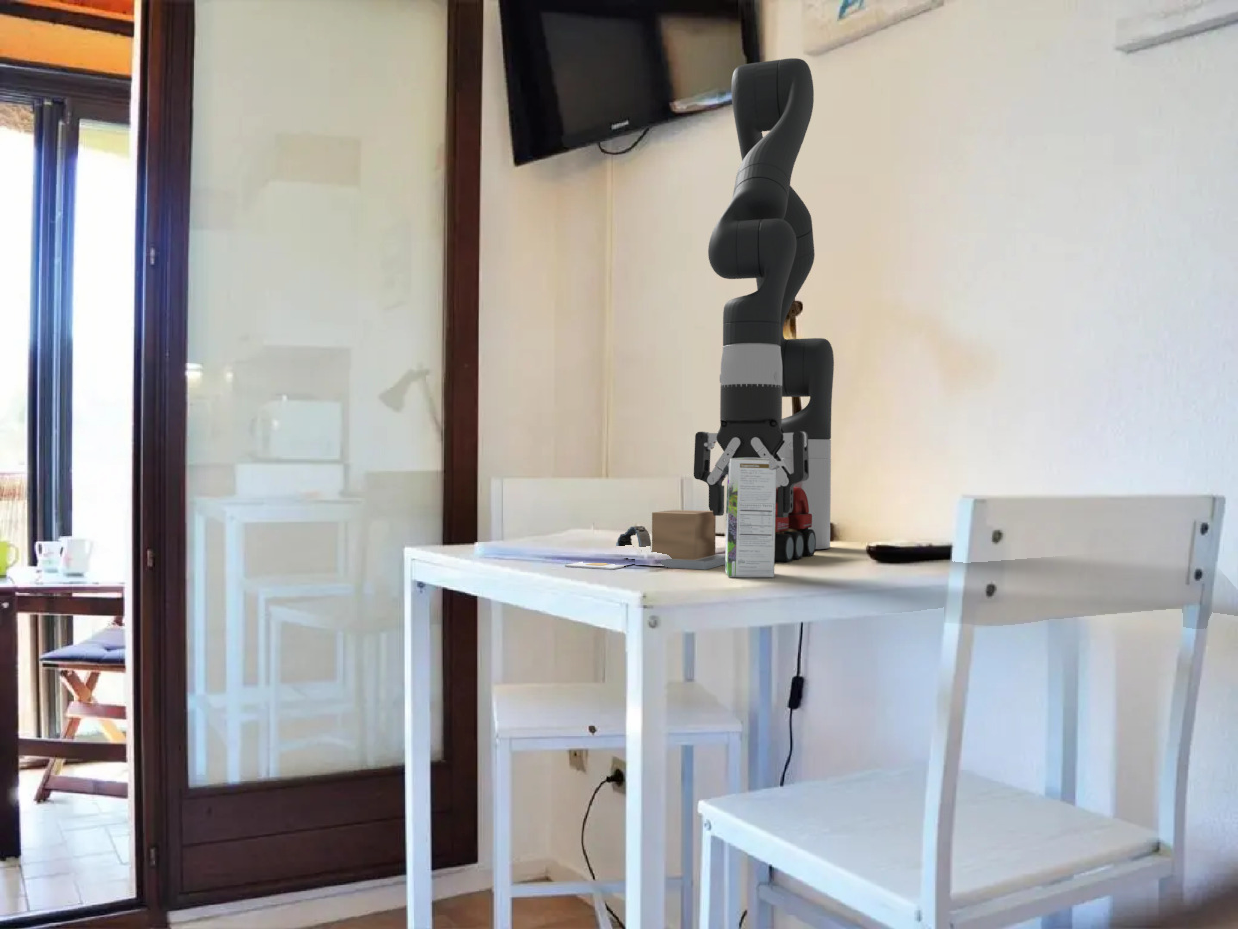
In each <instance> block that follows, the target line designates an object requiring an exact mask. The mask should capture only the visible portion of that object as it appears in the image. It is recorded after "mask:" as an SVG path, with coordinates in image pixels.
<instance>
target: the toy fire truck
mask: <svg viewBox="0 0 1238 929" xmlns="http://www.w3.org/2000/svg"><path fill="white" fill-rule="evenodd" d="M810 527H812V514H809V505H808V499H807V496H806V493H805V492H804V490H803V489H802V488H800V487H794V488H793V510H792V512H791V513H788V517H785V518H779V517H778V487H776V512H775V562H776V563H791V562H792V560H795V561H797V560H801V559H802V558H803V557H813V556H814V554H815V552H816V549H815V548H816V537H815V532H814V530H812V529H808V528H810ZM775 562H774V563H775Z"/></svg>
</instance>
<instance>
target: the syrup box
mask: <svg viewBox="0 0 1238 929" xmlns="http://www.w3.org/2000/svg"><path fill="white" fill-rule="evenodd" d="M767 460H768V459H767V458H753V457H743V458H732V459H730V462H729V464H728V465H729V467H728V475H727V479H726V480H727V481H726V482H727V483H726V487H727V488H726V510H725V512H726V513H725V552H724V553H725V554H724V555H725V565H724V570H725V573H726V576H728V578H775V512H776V469H774V470H769V461H770V460H768V461H767ZM775 460H776V459H775Z"/></svg>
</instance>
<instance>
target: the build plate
mask: <svg viewBox="0 0 1238 929" xmlns="http://www.w3.org/2000/svg"><path fill="white" fill-rule="evenodd" d="M661 564H662V565H664V566H666V567H665V568H667V567H668V568H671V569H673V568H674V569H686V570H687V569H688V570H703V571H705V570H710V569H714V568H717V567H721V566H725V554H715V555H713V556H709V557H704V558H700V559H696V560H684V559H666V560H662V561H661Z"/></svg>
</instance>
